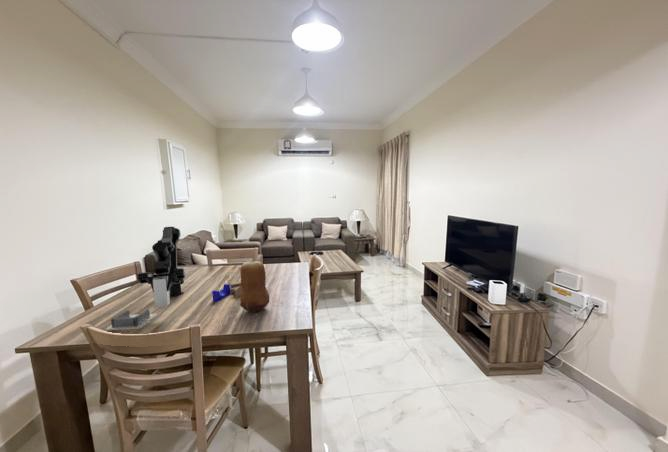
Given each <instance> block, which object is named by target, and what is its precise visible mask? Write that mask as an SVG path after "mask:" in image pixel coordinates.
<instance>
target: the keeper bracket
mask: <svg viewBox="0 0 668 452" xmlns="http://www.w3.org/2000/svg"><path fill="white" fill-rule="evenodd" d="M158 316H159V314H158V313H150V309H145V310H144V311H142V312H141V313H138V314H130V310H124V311H123V312H121V313H119V314H117V315H116V316H115V317H113V318H111V319H110V324H111V325H108V326H107V327H105V330H106V331H120V330H121V331H124V330H140V329H142V328H143V327H145V326H146V325H147V324H148V323H150V322H151V321H152V320H154V319H155V318H157V317H158Z"/></svg>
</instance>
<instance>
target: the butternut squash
mask: <svg viewBox="0 0 668 452" xmlns="http://www.w3.org/2000/svg"><path fill="white" fill-rule="evenodd" d="M266 276H267V275H266V270H265V265H264V263H263V262H261V261H259V260H258V261H257V260H256V261H249V260H248V261H245V262H243V264H241V266H240V281H241V286H242V292H241V295H240V296H239V297H240V299H239V301H240V303H239V304H240V305H239V306H240V307H241V308H242V309H243V310H245V311H247V312H250V313H251V312H255V313H258V312H260V311H262V310H263V309H265V308H266V307H267V306H268V305H269V303H270V294H269V293H270V292H269V291H268V289H267V287H266V279H267V278H266Z"/></svg>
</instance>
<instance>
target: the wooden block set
mask: <svg viewBox="0 0 668 452" xmlns="http://www.w3.org/2000/svg"><path fill="white" fill-rule="evenodd" d="M229 284H230V295H234V297H235V299H237V298H239V297H241V292H242V286H241V280H240V281H233V282H230V283H229Z"/></svg>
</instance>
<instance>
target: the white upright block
mask: <svg viewBox="0 0 668 452" xmlns="http://www.w3.org/2000/svg"><path fill="white" fill-rule="evenodd" d="M167 285H168V276H160V277H155V278H154V279H153V289H154V293H153V297H154V299H153V301H154V308H161V307H168V306H169V304H170V302H171V298H170V297H171V296H169V291H167Z"/></svg>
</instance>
